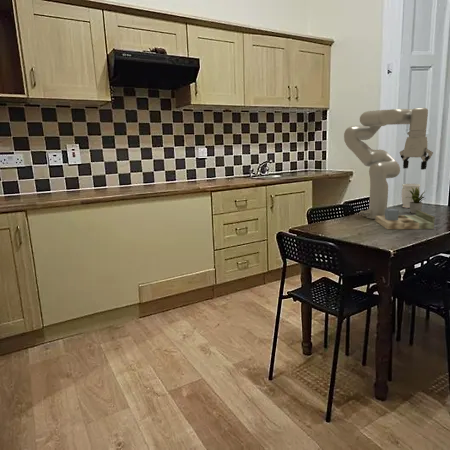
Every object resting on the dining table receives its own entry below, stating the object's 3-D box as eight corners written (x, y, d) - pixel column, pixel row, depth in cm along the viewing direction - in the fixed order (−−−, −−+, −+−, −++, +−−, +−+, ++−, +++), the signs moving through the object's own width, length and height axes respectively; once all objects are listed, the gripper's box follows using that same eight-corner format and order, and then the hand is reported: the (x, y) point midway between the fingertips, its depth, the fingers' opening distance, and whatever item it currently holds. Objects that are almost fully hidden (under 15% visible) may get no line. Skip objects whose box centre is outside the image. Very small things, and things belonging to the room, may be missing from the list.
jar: (403, 208, 238) (404, 185, 235) (398, 205, 248) (400, 183, 244) (420, 208, 236) (422, 185, 233) (415, 205, 246) (417, 183, 243)
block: (387, 220, 191) (388, 210, 189) (384, 218, 195) (385, 209, 194) (398, 220, 190) (398, 210, 189) (394, 218, 195) (395, 208, 194)
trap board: (387, 229, 184) (388, 217, 183) (375, 221, 204) (376, 210, 202) (433, 228, 182) (434, 216, 181) (417, 220, 201) (418, 209, 200)
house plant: (395, 211, 230) (397, 184, 227) (417, 210, 231) (419, 183, 228) (409, 215, 216) (411, 187, 213) (431, 214, 217) (434, 186, 214)
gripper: (396, 134, 189) (394, 168, 193) (429, 133, 174) (426, 170, 178) (406, 134, 192) (403, 167, 196) (439, 133, 178) (435, 169, 181)
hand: (414, 168), depth 187 cm, fingers open, 9 cm apart
